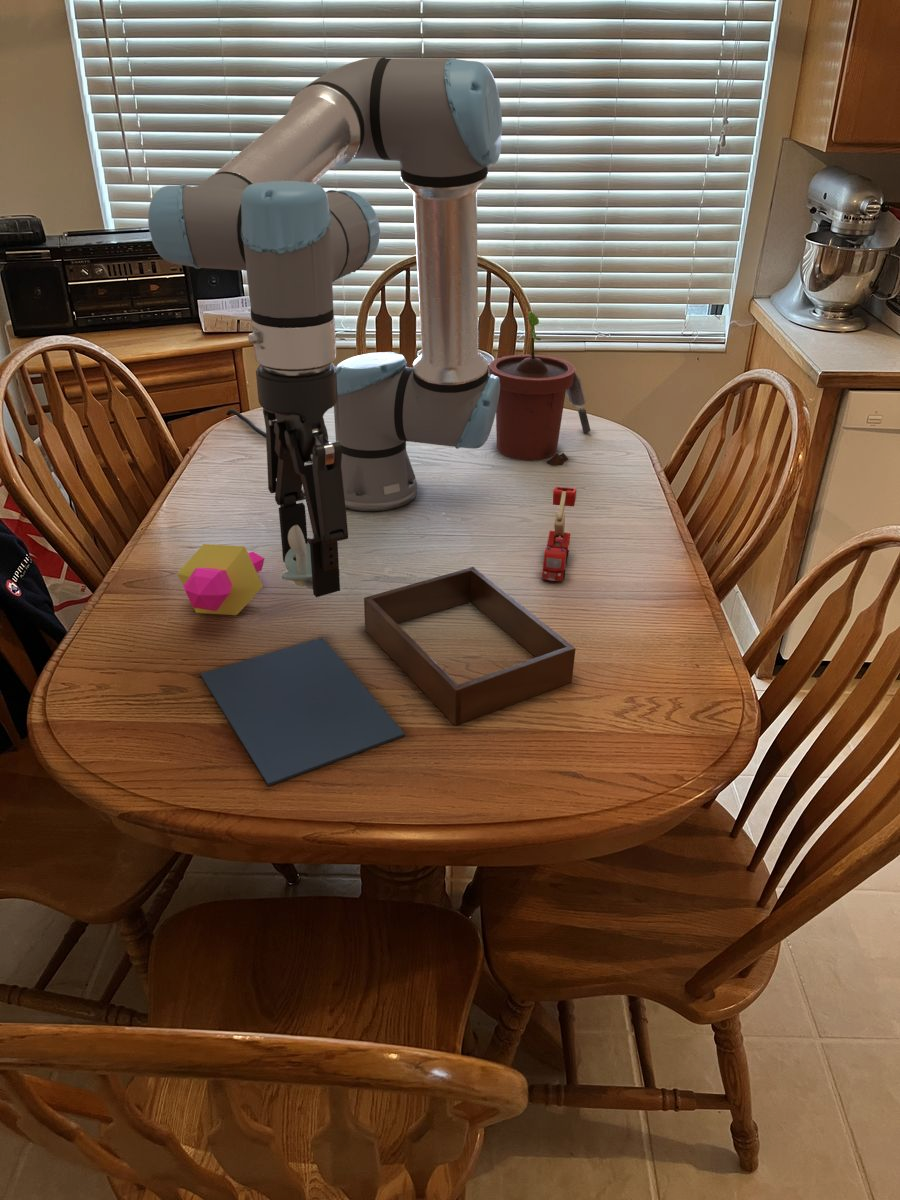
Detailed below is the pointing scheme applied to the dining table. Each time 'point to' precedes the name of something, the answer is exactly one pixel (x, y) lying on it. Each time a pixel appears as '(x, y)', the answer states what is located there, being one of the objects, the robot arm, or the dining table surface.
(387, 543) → the dining table surface
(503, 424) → the potted plant
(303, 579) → the pacifier
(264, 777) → the mat
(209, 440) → the dining table surface
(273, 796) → the dining table surface
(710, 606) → the dining table surface
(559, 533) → the toy fire truck
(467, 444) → the robot arm
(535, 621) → the open box
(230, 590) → the toy
